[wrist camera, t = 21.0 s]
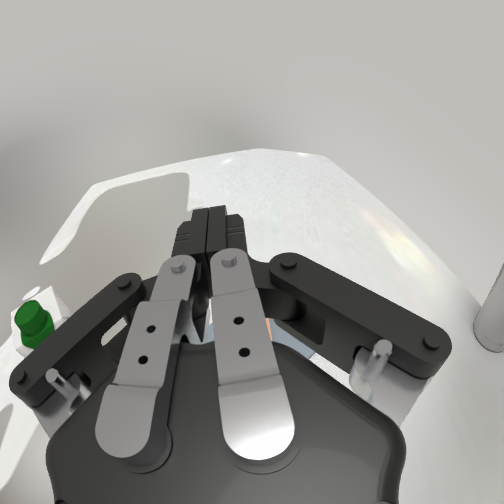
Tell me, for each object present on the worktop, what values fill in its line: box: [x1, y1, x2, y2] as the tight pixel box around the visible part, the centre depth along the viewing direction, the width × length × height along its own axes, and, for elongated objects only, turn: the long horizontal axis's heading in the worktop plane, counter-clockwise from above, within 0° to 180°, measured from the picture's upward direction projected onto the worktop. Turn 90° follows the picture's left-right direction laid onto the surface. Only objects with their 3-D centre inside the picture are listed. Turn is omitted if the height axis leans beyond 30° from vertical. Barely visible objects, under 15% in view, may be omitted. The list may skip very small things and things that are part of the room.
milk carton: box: [11, 286, 72, 358], centre depth 31 cm, size 9×9×20 cm
